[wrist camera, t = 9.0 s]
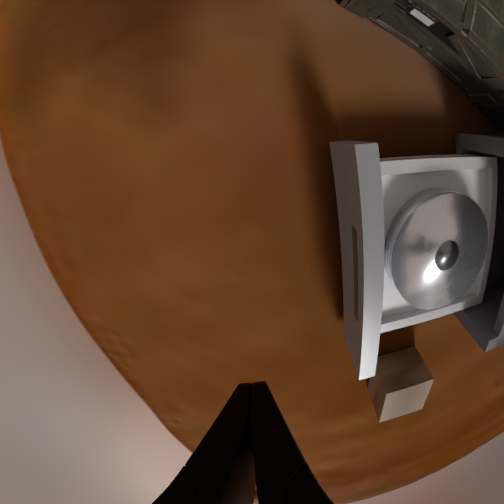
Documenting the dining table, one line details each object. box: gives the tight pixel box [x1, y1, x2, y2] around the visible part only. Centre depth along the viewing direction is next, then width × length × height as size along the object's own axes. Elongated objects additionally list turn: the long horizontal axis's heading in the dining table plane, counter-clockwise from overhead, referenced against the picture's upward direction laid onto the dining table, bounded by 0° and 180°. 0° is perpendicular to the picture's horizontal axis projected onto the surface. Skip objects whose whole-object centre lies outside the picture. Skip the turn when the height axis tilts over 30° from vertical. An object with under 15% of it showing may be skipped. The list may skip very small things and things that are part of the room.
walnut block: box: [368, 346, 434, 422], centre depth 19 cm, size 4×4×4 cm
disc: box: [384, 187, 488, 310], centre depth 14 cm, size 7×7×2 cm
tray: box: [329, 140, 497, 380], centre depth 14 cm, size 11×13×4 cm
